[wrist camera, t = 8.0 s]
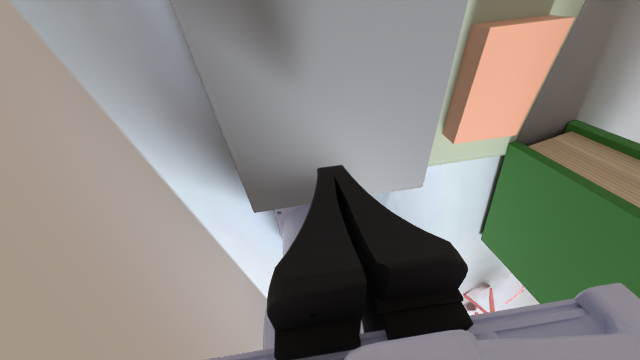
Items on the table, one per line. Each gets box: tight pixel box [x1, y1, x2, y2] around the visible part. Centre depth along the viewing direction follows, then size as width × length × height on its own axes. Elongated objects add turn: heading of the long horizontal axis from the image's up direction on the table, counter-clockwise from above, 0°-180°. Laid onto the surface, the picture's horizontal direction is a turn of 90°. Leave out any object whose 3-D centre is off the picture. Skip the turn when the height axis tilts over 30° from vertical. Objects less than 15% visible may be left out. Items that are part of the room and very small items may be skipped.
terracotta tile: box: [442, 15, 575, 144], centre depth 19 cm, size 9×6×2 cm, turn 5°
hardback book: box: [481, 120, 640, 304], centre depth 21 cm, size 18×7×24 cm, turn 16°
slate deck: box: [170, 0, 468, 213], centre depth 18 cm, size 16×16×4 cm
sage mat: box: [427, 0, 586, 167], centre depth 20 cm, size 17×11×1 cm, turn 5°
